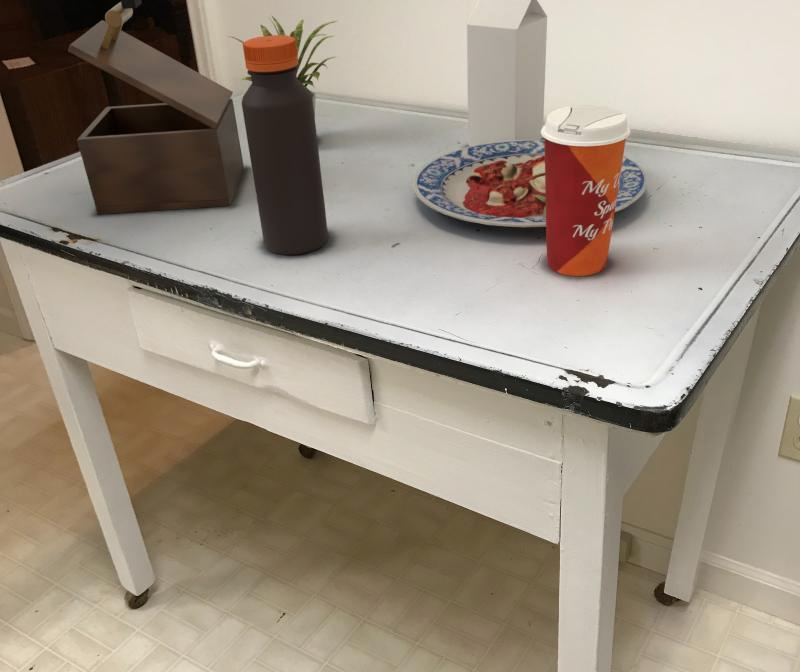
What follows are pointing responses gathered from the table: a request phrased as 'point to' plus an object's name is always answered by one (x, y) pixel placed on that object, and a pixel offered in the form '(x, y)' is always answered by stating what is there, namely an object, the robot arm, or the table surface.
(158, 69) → the lid
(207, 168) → the chest
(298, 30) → the house plant
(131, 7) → the robot arm
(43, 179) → the table surface
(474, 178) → the ceramic plate
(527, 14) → the milk carton
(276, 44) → the bottle
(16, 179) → the table surface
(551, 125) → the paper cup
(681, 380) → the table surface
